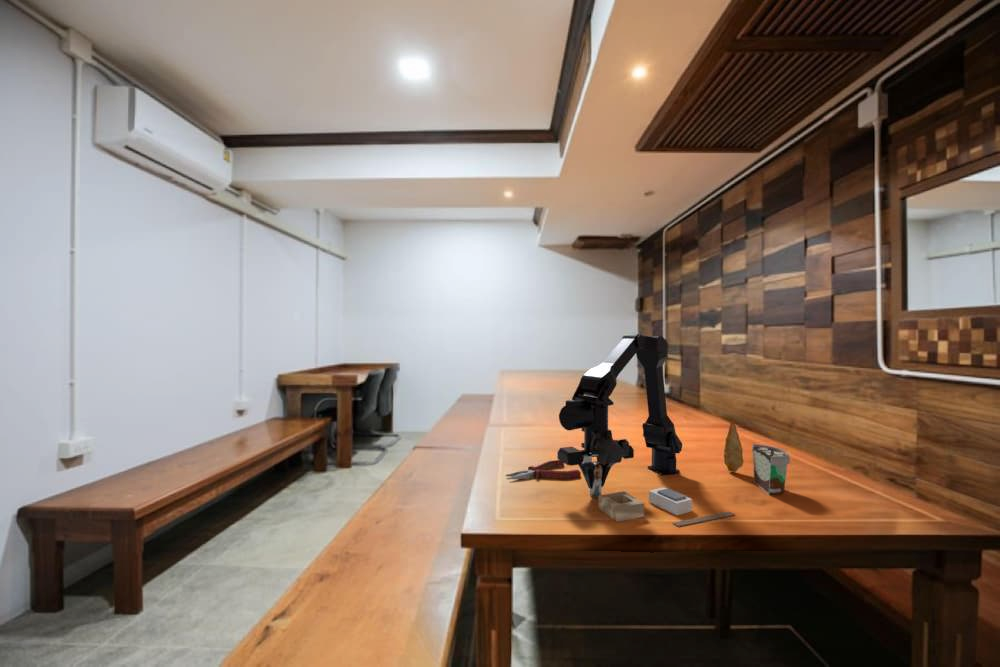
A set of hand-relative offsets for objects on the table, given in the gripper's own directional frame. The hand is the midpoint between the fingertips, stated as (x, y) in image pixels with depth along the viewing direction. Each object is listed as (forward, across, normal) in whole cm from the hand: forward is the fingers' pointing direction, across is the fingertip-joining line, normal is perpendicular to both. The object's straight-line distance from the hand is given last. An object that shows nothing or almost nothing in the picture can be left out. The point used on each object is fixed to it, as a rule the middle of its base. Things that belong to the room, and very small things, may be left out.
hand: (595, 487), depth 102 cm
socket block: (+2, 0, -10) cm, 10 cm away
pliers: (+3, -5, +19) cm, 20 cm away
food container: (+2, +46, -12) cm, 48 cm away
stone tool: (+2, +47, +1) cm, 47 cm away
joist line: (+2, +15, -19) cm, 24 cm away
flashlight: (+2, 0, 0) cm, 2 cm away
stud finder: (+2, +13, -11) cm, 17 cm away
